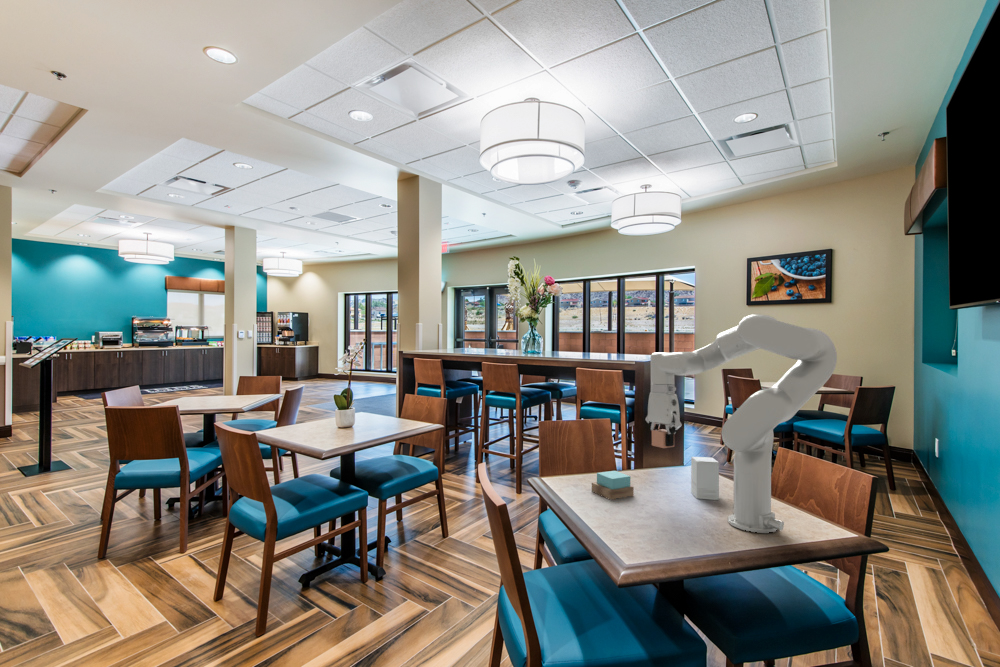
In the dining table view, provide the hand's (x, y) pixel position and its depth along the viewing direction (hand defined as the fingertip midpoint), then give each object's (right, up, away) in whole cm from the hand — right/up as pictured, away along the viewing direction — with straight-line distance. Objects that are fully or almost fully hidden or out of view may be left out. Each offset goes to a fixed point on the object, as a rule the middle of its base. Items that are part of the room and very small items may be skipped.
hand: (662, 443), depth 155 cm
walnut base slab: (-15, -19, +7) cm, 25 cm away
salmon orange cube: (0, -1, 0) cm, 1 cm away
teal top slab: (-15, -16, +6) cm, 23 cm away
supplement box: (+16, -19, +5) cm, 26 cm away
